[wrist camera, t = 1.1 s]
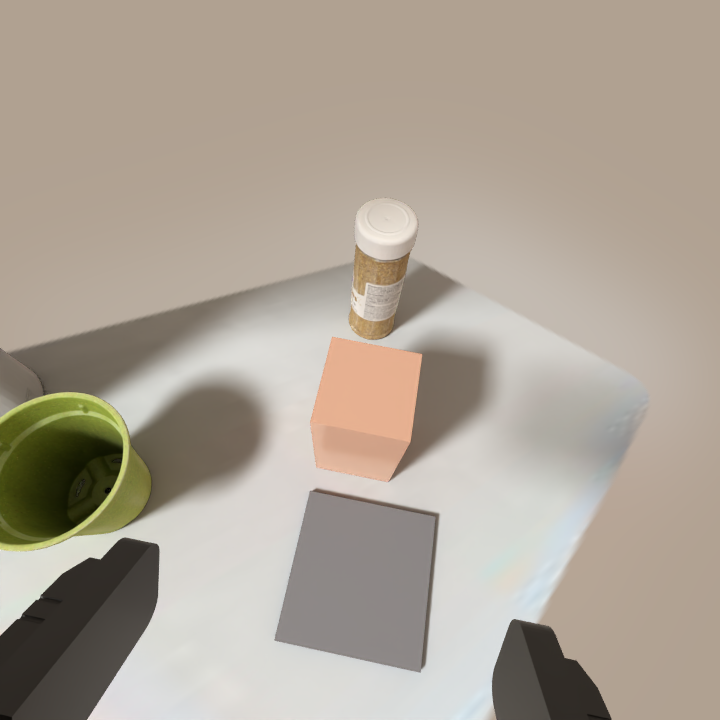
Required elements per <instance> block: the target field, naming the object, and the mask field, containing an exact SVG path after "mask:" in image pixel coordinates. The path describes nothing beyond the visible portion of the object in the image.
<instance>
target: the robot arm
mask: <svg viewBox="0 0 720 720" xmlns="http://www.w3.org/2000/svg"><path fill="white" fill-rule="evenodd" d="M41 396H43V388H42V384H41V381H40V380H39V378H38V377H37V375H36V374H35V373H34V372H32V371H31V370H30V369H29V368H27V367H26V366H24V365H23V364H22V363H20V362H19V361H17V360H16V359H15V358H13V357H12V356H10V355H9V354H8V353H6V352H5V351H3V350H2V349H1V348H0V418H1V417H2V416H3V415H5V414H6V413H7V412H9V411H10V410H12V409H14V408H15V407H17V406H19V405H21V404H23V403H25V402H28V401H30V400H32V399H35V398H38V397H41ZM158 578H159V546H158V545H157V544H154V543H149V542H144V541H140V540H135V539H130V538H122V539H120V540H119V541H118V542H117V543H116V544H115V545H114V546H113V547H112V548H111V549H110V550H109V551H108V552H107V553H106V554H105V555H104V557H103V558H102V559H101V560H99V559H95V558H88V559H87V560H85V561H83V562H81V563H80V564H78V565H76V566H75V567H73V568H71V569H70V570H68V571H66V572H65V573H63V574H62V575H61V576H60V577H59V578H58V579H57V580H56V581H55V582H54V583H53V584H52V585H51V586H50V587H49V588H48V589H47V590H46V591H45V592H44V593H43V594H42V595H41V597H40V599H39V600H36V601H35V602H34V603H33V604H32V605H31V606H30V607H29V608H28V609H27V610H26V611H25V612H24V613H23V614H22V616H21V618H20V619H17V620H16V621H15V622H14V623H13V624H12V625H11V626H10V627H9V628H8V629H7V630H6V631H5V632H4V633H3V634H2V635H1V636H0V720H87V719H88V717H89V716H90V714H91V713H92V711H93V709H94V708H95V706H96V705H97V703H98V702H99V700H100V699H101V697H102V696H103V694H104V693H105V691H106V689H107V688H108V686H109V685H110V683H111V682H112V680H113V679H114V677H115V676H116V674H117V672H118V671H119V669H120V668H121V666H122V665H123V663H124V662H125V660H126V659H127V657H128V655H129V654H130V652H131V651H132V649H133V648H134V646H135V645H136V643H137V642H138V640H139V638H140V637H141V635H142V634H143V632H144V631H145V629H146V628H147V626H148V624H149V622H150V620H151V618H152V615H153V613H154V610H155V607H156V603H157V598H158ZM492 696H493V704H494V709H495V714H496V719H497V720H611V717H610V714H609V712H608V710H607V708H606V705H605V703H604V701H603V699H602V697H601V694H600V692H599V690H598V688H597V687H596V685H595V684H594V683H593V681H592V680H591V679H590V677H589V676H588V675H587V674H586V672H585V671H584V670H583V668H582V667H581V666H580V665H579V663H578V662H577V661H575V660H571V659H566V658H564V655H563V653H562V650H561V648H560V645H559V643H558V640H557V638H556V635H555V634H554V631H553V630H552V629H551V628H550V627H549V626H545V625H540V624H535V623H531V622H526V621H521V620H516V619H514V620H512V621H511V623H510V625H509V628H508V630H507V633H506V636H505V639H504V642H503V645H502V648H501V650H500V653H499V656H498V659H497V662H496V665H495V668H494V672H493V679H492Z"/></svg>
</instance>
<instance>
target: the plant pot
mask: <svg viewBox="0 0 720 720" xmlns="http://www.w3.org/2000/svg"><path fill="white" fill-rule="evenodd" d="M114 459H123V460H122V463H117V462H116V463H112V461H113V460H114ZM83 479H85V483H84V485H83V487H82V488H81V491H80V493H79V496H78V497H77V496H76V490H77V487H78V485H79V483H80V482H81V481H82V480H83ZM106 488H111V489H112V490H111V492H110V493H109V494H106V493H105V489H106ZM150 492H151V475H150V472H149V470H148V468H147V466H146V464H145V463H144V461H143V460H142V459H141V458H140V457H139V455H138V454H137V453H136V452H135V450H134V449H133V448H132V446H131V442H130V435H129V432H128V429H127V426H126V424H125V422H124V420H123V418H122V417H121V415H120V414H119V413H118V412H117V411H116V409H114V408H113V407H112V406H111V405H110V404H109V403H107V402H106V401H104V400H102V399H100V398H98V397H96V396H92V395H89V394H84V393H77V392H61V393H54V394H49V395H45V396H41V397H38V398H35V399H32V400H30V401H28V402H25V403H23V404H21V405H19V406H17V407H15V408H14V409H12V410H10V411H9V412H7V413H6V414H5V415H3V416H2V417H1V418H0V550H6V551H32V550H38V549H43V548H47V547H50V546H53V545H55V544H58V543H61V542H63V541H65V540H67V539H69V538H71V537H73V536H83V535H96V534H105V533H110V532H114V531H116V530H118V529H120V528H122V527H123V526H125V525H126V524H128V523H129V522H131V521H132V520H133V519H135V518H136V517H137V516H138V515H139V514H140V512H141V511H142V510H143V508H144V507H145V505H146V503H147V501H148V499H149V496H150Z"/></svg>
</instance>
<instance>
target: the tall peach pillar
mask: <svg viewBox="0 0 720 720" xmlns="http://www.w3.org/2000/svg"><path fill="white" fill-rule="evenodd" d="M421 360H422V354H419V353H414V352H408V351H403V350H398V349H393V348H388V347H382V346H377V345H372V344H367V343H362V342H356V341H351V340H346V339H341V338H336V337H332V339H331V343H330V347H329V351H328V355H327V359H326V363H325V367H324V370H323V374H322V378H321V382H320V386H319V390H318V394H317V398H316V401H315V405H314V409H313V413H312V417H311V421H310V424H311V432H312V439H313V447H314V454H315V462H316V467H317V468H322V469H326V470H331V471H336V472H341V473H346V474H351V475H356V476H361V477H366V478H370V479H375V480H380V481H385V482H389V480H390V478H391V476H392V474H393V473H394V471H395V469H396V467H397V465H398V464H399V462H400V460H401V458H402V457H403V455H404V453H405V451H406V449H407V448H408V446H409V444H410V442H411V435H412V428H413V420H414V413H415V405H416V398H417V390H418V383H419V375H420V368H421Z"/></svg>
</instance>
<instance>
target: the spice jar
mask: <svg viewBox="0 0 720 720" xmlns="http://www.w3.org/2000/svg"><path fill="white" fill-rule="evenodd" d="M417 231H418V219H417V216H416V214H415V213H414V211H413V210H412V209H411V208H410V207H409V206H408V205H406V204H405V203H403V202H401V201H399V200H396V199H391V198H378V199H373V200H371V201H368V202H367V203H365V204H364V205H363V206H362V207H361V208H360V209H359V210H358V212H357V214H356V218H355V228H354V238H355V242H356V251H355V262H354V268H353V279H352V292H351V311H350V314H349V323H350V326H351V328H352V330H353V331H354V332H355V333H356V334H357V335H359V336H361V337H363V338H366V339H380V338H383V337H385V336H386V335H388V334H389V333H390V331H391V330H392V328H393V326H394V316H395V312H396V310H397V307H398V303H399V299H400V295H401V291H402V287H403V283H404V279H405V275H406V271H407V263H408V259H409V255H410V251H411V250H412V248H413V246H414V244H415V240H416V236H417Z"/></svg>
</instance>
